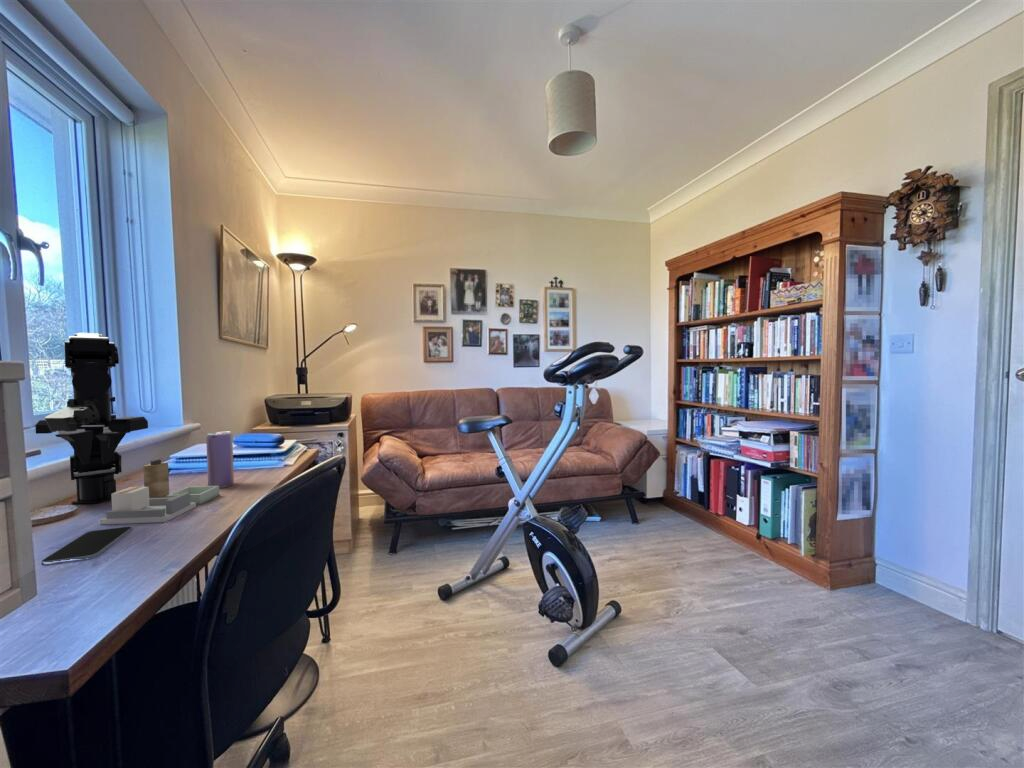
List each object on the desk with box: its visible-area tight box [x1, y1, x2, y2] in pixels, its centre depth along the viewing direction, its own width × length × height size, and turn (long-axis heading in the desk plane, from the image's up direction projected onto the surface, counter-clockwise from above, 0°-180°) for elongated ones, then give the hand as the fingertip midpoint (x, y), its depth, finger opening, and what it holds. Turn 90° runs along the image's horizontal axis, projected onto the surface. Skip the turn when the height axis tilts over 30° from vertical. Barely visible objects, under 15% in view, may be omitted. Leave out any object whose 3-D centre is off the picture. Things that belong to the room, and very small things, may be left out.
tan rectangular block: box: [143, 458, 170, 498], centre depth 105 cm, size 3×3×10 cm
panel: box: [99, 492, 197, 525], centre depth 94 cm, size 13×10×4 cm
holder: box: [167, 485, 220, 506], centre depth 105 cm, size 8×8×2 cm
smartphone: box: [41, 526, 133, 563], centre depth 79 cm, size 7×1×15 cm
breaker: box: [111, 485, 150, 510], centre depth 94 cm, size 4×5×5 cm
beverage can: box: [205, 430, 235, 489], centre depth 117 cm, size 6×6×15 cm
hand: (95, 463), depth 93 cm, fingers open, 4 cm apart
